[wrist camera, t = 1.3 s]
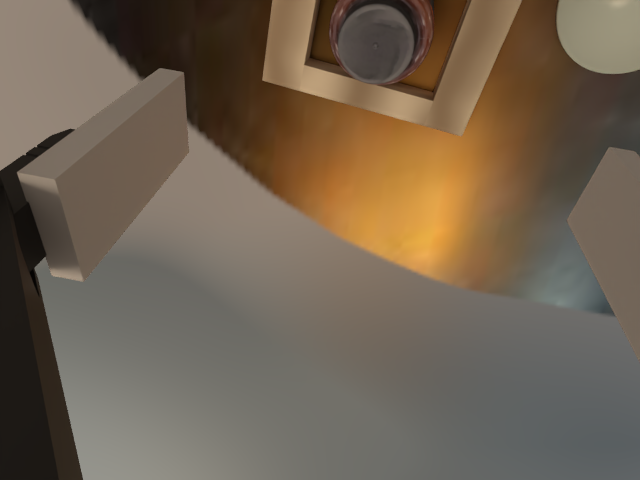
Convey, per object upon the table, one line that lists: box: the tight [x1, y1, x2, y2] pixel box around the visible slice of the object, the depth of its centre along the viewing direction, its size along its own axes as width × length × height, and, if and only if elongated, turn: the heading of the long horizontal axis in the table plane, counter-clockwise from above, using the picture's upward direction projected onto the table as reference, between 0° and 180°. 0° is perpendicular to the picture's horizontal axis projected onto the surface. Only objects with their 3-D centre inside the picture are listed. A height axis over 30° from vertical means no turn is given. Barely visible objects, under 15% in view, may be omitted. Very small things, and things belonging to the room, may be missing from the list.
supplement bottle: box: [329, 0, 434, 85], centre depth 27 cm, size 6×6×11 cm
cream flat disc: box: [555, 0, 640, 74], centre depth 29 cm, size 9×9×1 cm
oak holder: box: [263, 0, 522, 136], centre depth 31 cm, size 16×14×2 cm
